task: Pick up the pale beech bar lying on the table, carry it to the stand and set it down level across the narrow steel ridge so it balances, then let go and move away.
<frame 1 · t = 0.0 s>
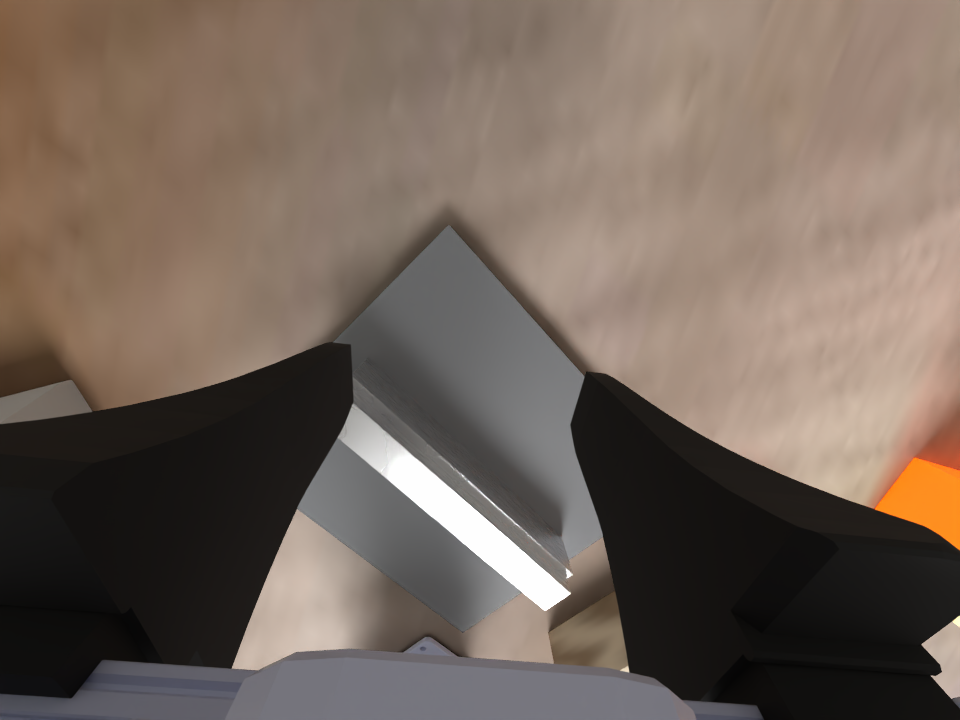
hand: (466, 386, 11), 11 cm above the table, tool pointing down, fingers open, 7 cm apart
metal ridge: (455, 489, 21), on the base plate, point 3 cm above the table
beech bar: (641, 593, 28), on the table
orange juice: (927, 512, 26), on the table
base plate: (457, 460, 24), on the table
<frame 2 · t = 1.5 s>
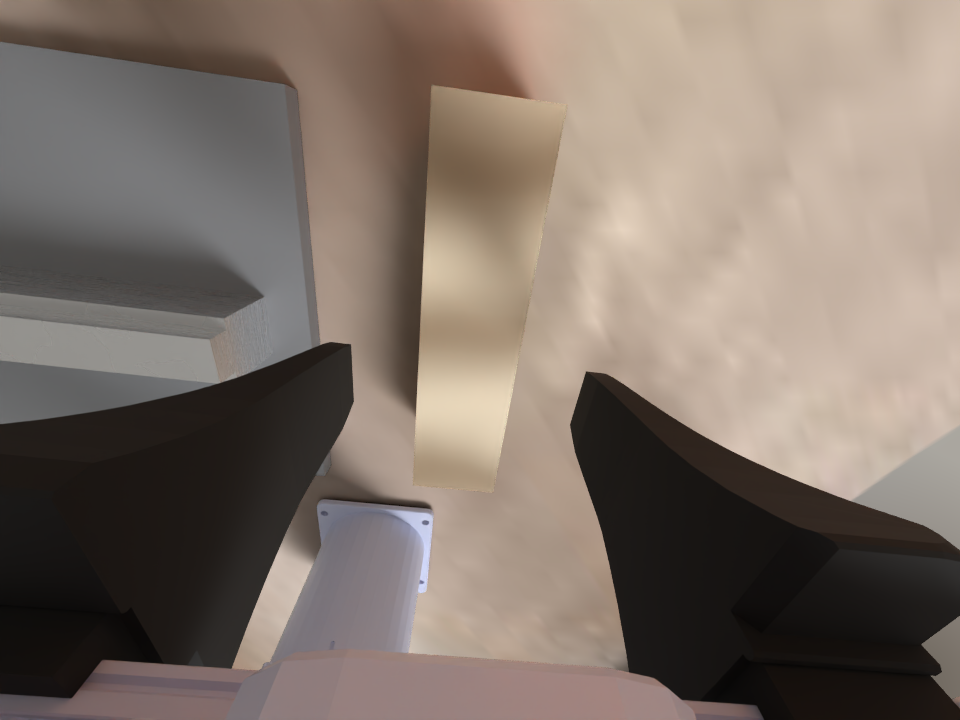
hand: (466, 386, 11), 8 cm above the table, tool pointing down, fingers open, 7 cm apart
metal ridge: (33, 318, 15), on the base plate, point 3 cm above the table
beech bar: (473, 303, 18), on the table
base plate: (100, 297, 18), on the table
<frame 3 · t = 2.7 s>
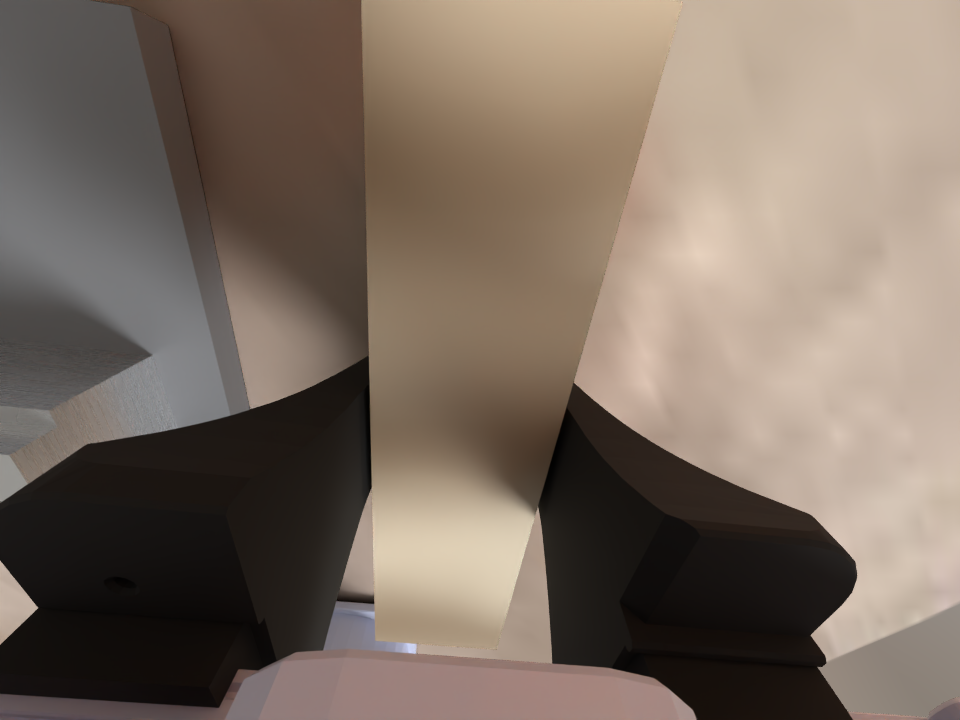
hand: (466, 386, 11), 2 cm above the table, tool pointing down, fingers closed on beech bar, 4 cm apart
beech bar: (468, 361, 12), on the table, touching gripper
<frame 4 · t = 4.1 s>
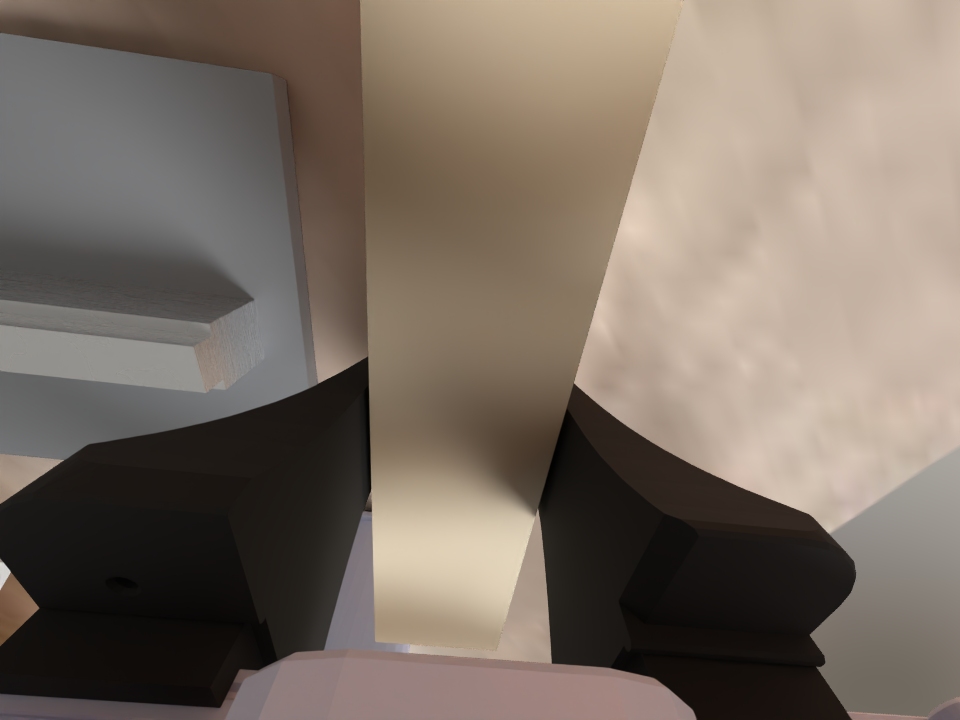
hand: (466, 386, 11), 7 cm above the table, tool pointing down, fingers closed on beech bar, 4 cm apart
metal ridge: (10, 322, 15), on the base plate, point 3 cm above the table
beech bar: (468, 361, 12), point 6 cm above the table, touching gripper
base plate: (83, 300, 17), on the table
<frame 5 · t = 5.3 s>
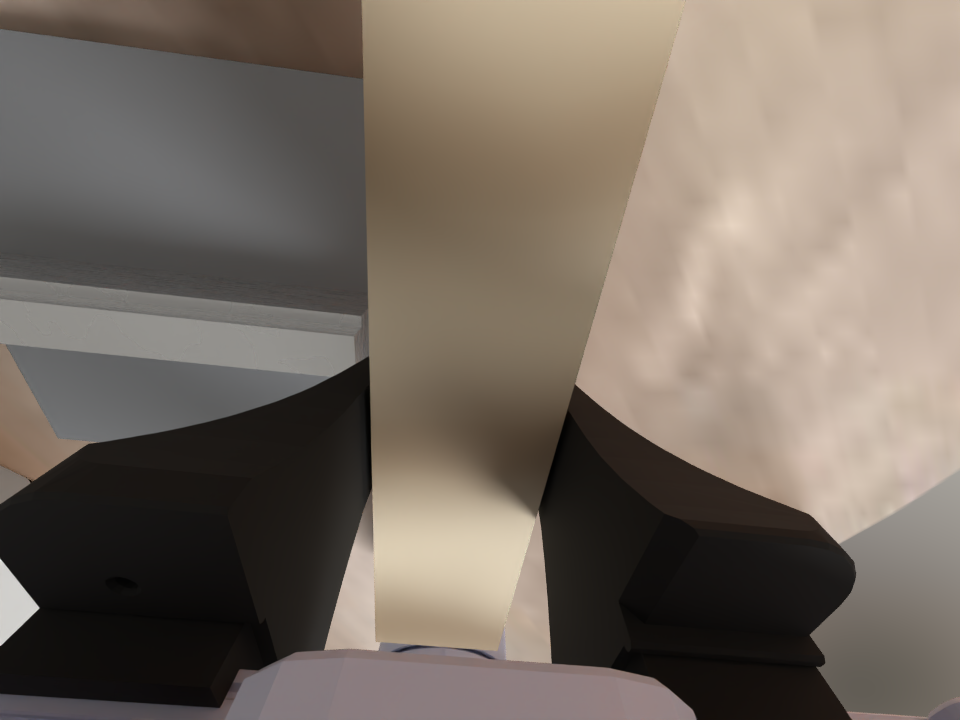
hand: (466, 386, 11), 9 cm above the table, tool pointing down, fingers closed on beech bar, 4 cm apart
metal ridge: (168, 317, 16), on the base plate, point 3 cm above the table
decorative molding: (10, 581, 32), on the table
beech bar: (469, 361, 12), point 7 cm above the table, touching gripper
base plate: (213, 297, 19), on the table
when the fingers open (7 cm above the table, at t = 7.1 s): beech bar stays where it is, resting on metal ridge.
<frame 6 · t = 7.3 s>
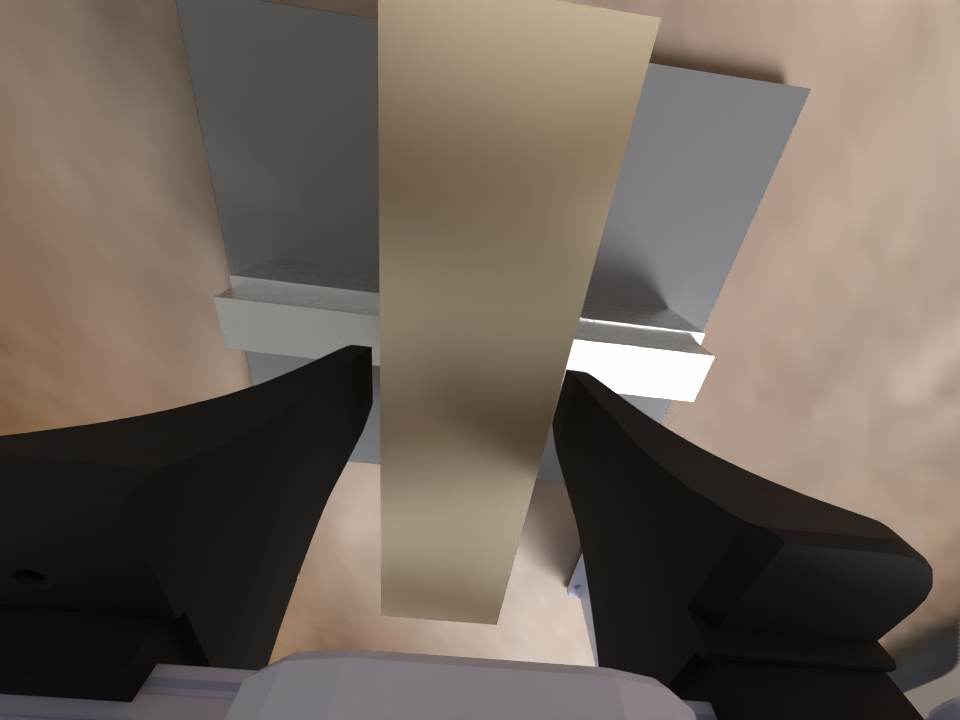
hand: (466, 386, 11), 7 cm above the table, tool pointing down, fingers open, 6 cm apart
metal ridge: (471, 331, 15), on the base plate, point 3 cm above the table
beech bar: (470, 351, 13), point 5 cm above the table, touching metal ridge
base plate: (473, 308, 17), on the table
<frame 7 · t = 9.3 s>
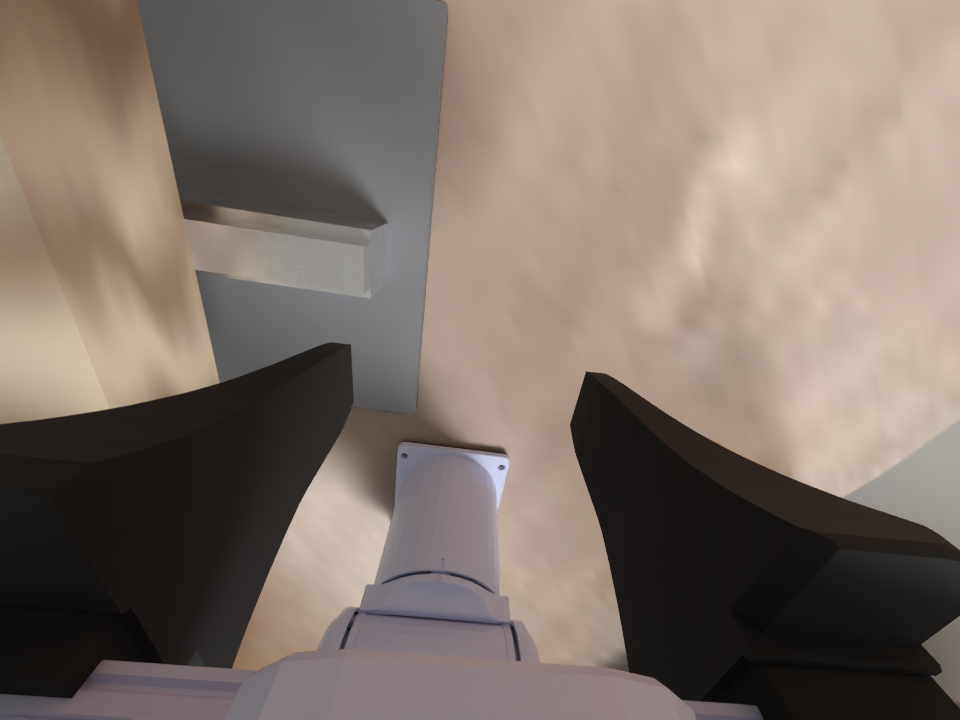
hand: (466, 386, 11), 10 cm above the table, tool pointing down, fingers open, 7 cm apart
metal ridge: (176, 230, 16), on the base plate, point 3 cm above the table
beech bar: (137, 235, 14), point 5 cm above the table, touching metal ridge
base plate: (220, 223, 19), on the table
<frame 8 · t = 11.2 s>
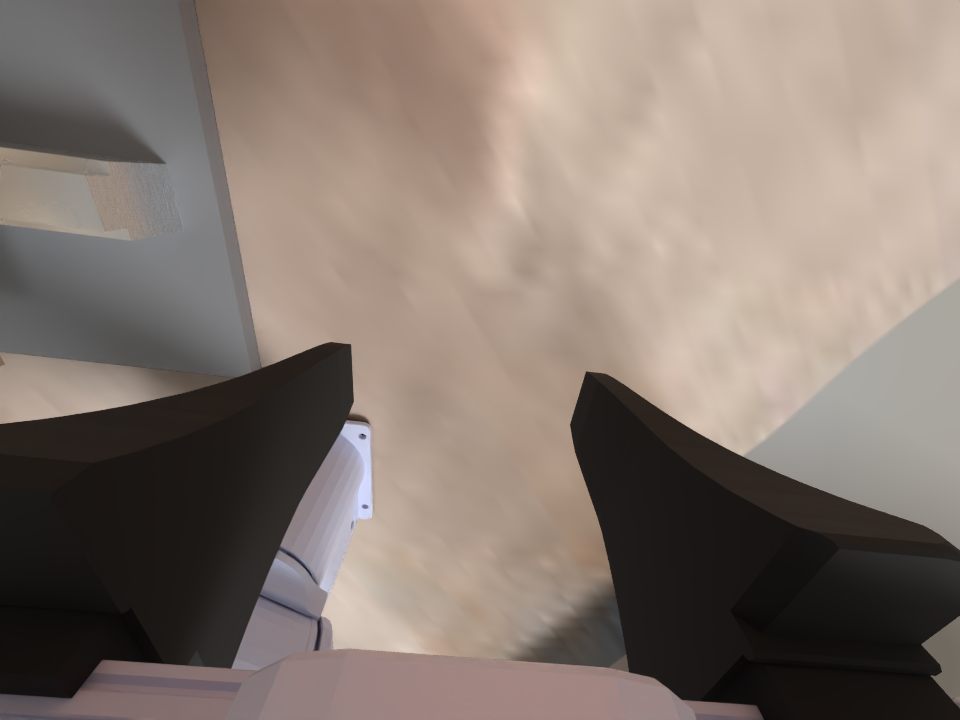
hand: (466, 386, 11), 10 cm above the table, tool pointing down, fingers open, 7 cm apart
base plate: (5, 173, 18), on the table
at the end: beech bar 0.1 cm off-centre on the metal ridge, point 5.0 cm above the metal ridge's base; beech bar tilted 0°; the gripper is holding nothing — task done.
